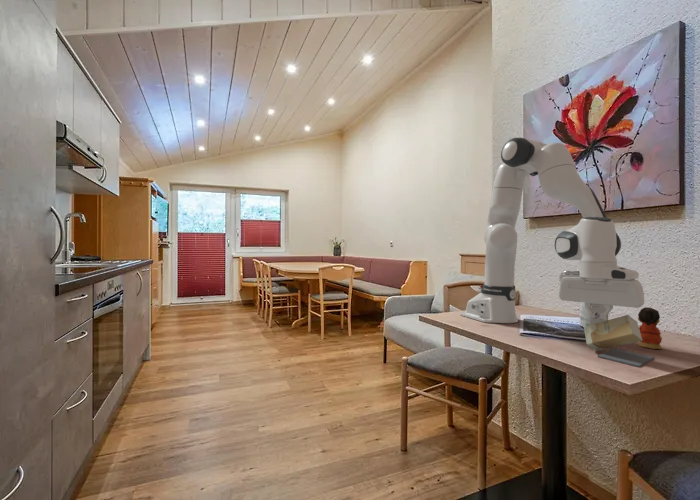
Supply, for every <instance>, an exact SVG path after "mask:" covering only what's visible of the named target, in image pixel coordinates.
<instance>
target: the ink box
mask: <svg viewBox="0 0 700 500" xmlns="http://www.w3.org/2000/svg"><path fill="white" fill-rule="evenodd" d="M591 307H592V309H593V311H594V312H597V316H598V317H597V319H591V318H589V312H588V311H587V309H586V308H585V303H584V302H580V307H579V308H580V309H579V311H580V312H579V325H581V326H583V327H585V326H588V325H592V324H596V323H599V322H603V321H606V320H600V314H601V313H604V312H605V311H606V308H604V304H594V303H593V306H591ZM579 325H578V326H579Z"/></svg>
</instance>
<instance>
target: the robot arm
mask: <svg viewBox="0 0 700 500" xmlns="http://www.w3.org/2000/svg"><path fill="white" fill-rule="evenodd" d="M500 159H501V161H502V162H503V163H501V164H500V165H499V166H498V168H497V170H496V173H495V177H494V181H493V187H492V192H491V197H490V198H491V199H490V205H489V210H488V215H487V218H486V219H487V220H486V225H485V230H484V231H485V232H484V243H485V257H484V258H485V259H484V261H485V262H484V283H483V284H482V285H478V289H479V290H480V292H479V293H478V294H476V295H475V296H474V297H472V298H471V299H469V300H468V301H467V304H466V309H465V310H463V311H461V312H460V316H463V317H466V318H469V319H472V320H476V321H480V322H483V323H488V324H489V323H493V324H494V323H495V324H496V323H497V324H513V323H518V322H519V320H518V316H517V311H516V305H515V303H516V302H515V300H516V286H515V266H516V265H515V264H516V257H517V247H518V232H517V230H516V225H517V220H518V216H519V213H520V209H521V202H522V197H523V190H524V182H525V179H526V178H527V176H531V177H536V176H538V179H539V183H540V185H539V186H540V188H541V190H542V191H543V193H544V195H545V196H547V197H549V198H550V199H552V200H555V201H559V202H562V203H565V204H568V205H570V206H572V207H574V208H575V209H577V210H578V211H579V213H580V214H581V217H582V218H581V219H580V220H579V222H578V223H577V224H576V225H574V226H573V227H571V228H569V229H567V230H563V231H561V232H560V233H558V235H556V238H555V240H554V249H555V253H556V254H557V255H558V256H559V257H560V258H561V259H563V260H568V261H579V265H578V266H579V270H564V271H563V272H561V273H560V274H559V276H558V277H559V278H558V279H559V290H558V296H559V297H558V298H560V300H561V301H566V302H574V303H575V302H576V303H581V302H584V303H585V308H586V309H587V311H588V312H589V318H591V319H597V317H598V316H597V312H594V311H593V309H592V307H591V306H593V303H594V304H604V308H606V311H605V312H604V313H601V314H600V320H606V321H607V320H609V314H610V313H611V312H612V310H614V306H615V307H627V308H636V309H638V308H641V307H643V306H644V304H645V294H644V288H643V285H642V283H641V282H640V281H639V280H638V279H639V276H640V275H639V271H636V270H632V269H630V268H629V269H628V268H625V267H622V266H619V265H618V260H617V257H616V256H617V255H618V254H619V253H620V251H621V248H622V241H621V238H620V236H619V235H618V233H617V232H616V226H615V223H614V221H613V220H612V219H611V218H610V217H608V216H607V215H606V213H605V211H604V209H603V207H602V205H601V202H600V201H599V198H598V197H597V195H596V193H595V192H594V190H593V189H592V188H591V187H590V186H589V185H587V184H586V183H585V182H584V181H583V179H582V178H581V176H580V174H579V172H578V170H577V167H576V164H575V161H574V158H573V157H572V155H571V152H570V150H569V149H568V148H567V146H566V145H565V144H564V143H561V142H551V143H549V144H547V143H544V142H541V141H538V140H533V139H529V138H525V137H512V138H510V139H509V140H507V142H505V143H504V145H503V147H502V149H501V152H500Z"/></svg>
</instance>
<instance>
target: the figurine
mask: <svg viewBox="0 0 700 500" xmlns="http://www.w3.org/2000/svg"><path fill="white" fill-rule="evenodd" d="M660 319H661V315H660V312H659V310H657V309H654V308H653V307H647V306H646V307H643V308H641V309H640V311H639V312H638V314H637V320H638V321H639V322H640V323H642V324H641V325H639V326H638V327H639V329H640V333H641V337H642V340H643V341H640V342H637V346H639V347H641V348H648V349H652V350H662V349H663V347H662V346H661V343H662V340H663V337H662V336H661V334H662V332H661V331H660V329H659V328H658V327H657V325H658V324H659V323H660V321H661V320H660Z"/></svg>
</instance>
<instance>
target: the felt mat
mask: <svg viewBox="0 0 700 500" xmlns="http://www.w3.org/2000/svg"><path fill="white" fill-rule="evenodd" d="M597 358H600V359H604V360H607V361H612V362H616V363H620V364H623V365H624V364H625V365H628V366H632V367H636V368H640V367H642V366H643V365H646V364H647V363H648V362H650V361H652V360H654V359H655V356H653V355H647V354H642V353H639V352H638V353H637V352H633V351H628V350H624V349H620V348H616V347H613V348H612V349H609V350H607V351H604V352H603V353H601V354H599V355H597Z"/></svg>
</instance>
